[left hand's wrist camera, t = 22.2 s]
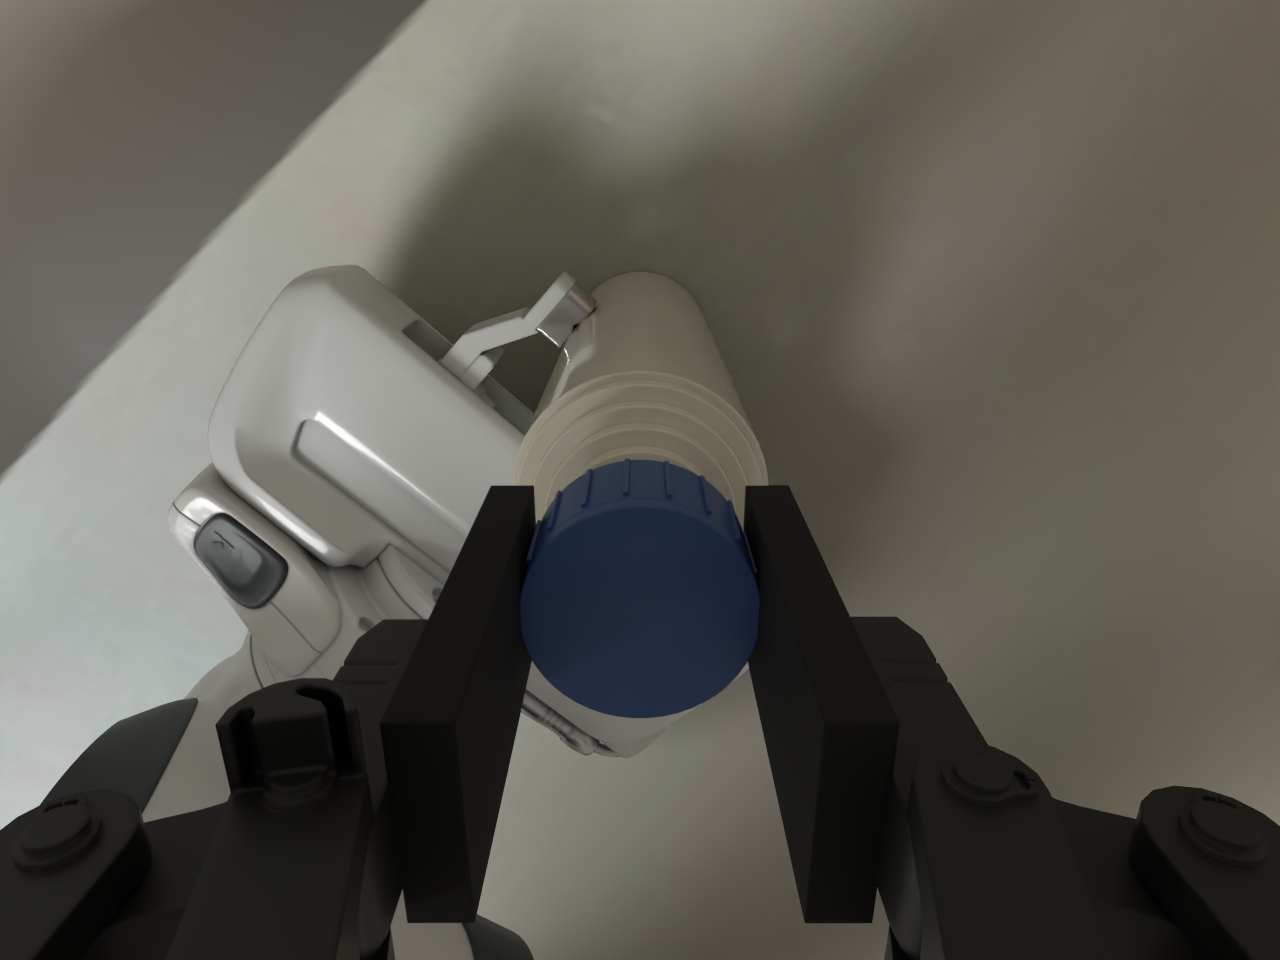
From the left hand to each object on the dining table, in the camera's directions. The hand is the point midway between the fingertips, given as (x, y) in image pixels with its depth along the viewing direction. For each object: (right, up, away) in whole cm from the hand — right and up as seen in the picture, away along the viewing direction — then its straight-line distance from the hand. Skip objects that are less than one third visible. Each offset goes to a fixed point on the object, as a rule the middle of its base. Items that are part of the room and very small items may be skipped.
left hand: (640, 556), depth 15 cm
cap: (0, -1, -2) cm, 2 cm away
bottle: (0, +7, +18) cm, 20 cm away
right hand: (+1, +5, +12) cm, 13 cm away
